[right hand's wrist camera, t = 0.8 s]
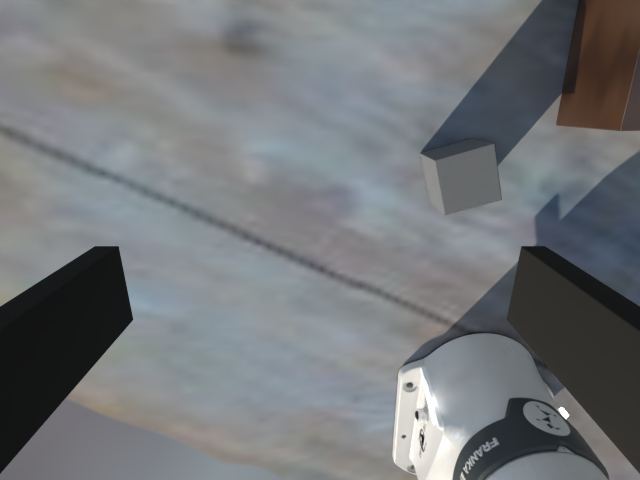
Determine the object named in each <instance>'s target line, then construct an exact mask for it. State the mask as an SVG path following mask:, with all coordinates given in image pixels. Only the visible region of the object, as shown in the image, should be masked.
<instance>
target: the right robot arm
mask: <svg viewBox="0 0 640 480" xmlns="http://www.w3.org/2000/svg"><path fill="white" fill-rule="evenodd" d="M132 320H133V317H132V312H131V307H130V302H129V297H128V292H127V287H126V282H125V277H124V272H123V266H122V261H121V256H120V251H119V246H95V247H93V248H92V249H90V250H89V251H87V252H85V253H84V254H82V255H81V256H79V257H78V258H76V259H74V260H73V261H71V262H70V263H68V264H67V265H65V266H63V267H62V268H60V269H59V270H57V271H56V272H54V273H52V274H51V275H49V276H48V277H46V278H45V279H43V280H41V281H40V282H38V283H37V284H35V285H34V286H32V287H30V288H29V289H27V290H26V291H24V292H23V293H21V294H19V295H18V296H16V297H15V298H13V299H12V300H10V301H8V302H7V303H5V304H4V305H2V306H1V307H0V473H1V472H2V471H3V470H4V469H5V467H6V466H7V465H8V464H9V463H10V462H11V461H12V459H13V458H14V457H15V456H16V455H17V454H18V452H19V451H20V450H21V449H22V448H23V447H24V445H25V444H26V443H27V442H28V441H29V440H30V438H31V437H32V436H33V435H34V434H35V433H36V432H37V430H38V429H39V428H40V427H41V426H42V425H43V423H44V422H45V421H46V420H47V419H48V418H49V417H50V415H51V414H52V413H53V412H54V411H55V410H56V408H57V407H58V406H59V405H60V404H61V403H62V401H63V400H64V399H65V398H66V397H67V396H68V395H69V393H70V392H71V391H72V390H73V389H74V388H75V386H76V385H77V384H78V383H79V382H80V381H81V379H82V378H83V377H84V376H85V375H86V374H87V373H88V371H89V370H90V369H91V368H92V367H93V366H94V364H95V363H96V362H97V361H98V360H99V359H100V357H101V356H102V355H103V354H104V353H105V352H106V350H107V349H108V348H109V347H110V346H111V345H112V344H113V342H114V341H115V340H116V339H117V338H118V337H119V335H120V334H121V333H122V332H123V331H124V330H125V328H126V327H127V326H128V325H129V324H130V323H131V322H132ZM507 320H508V322H509V323H510V324H511V325H512V326H513V327H514V328H515V330H516V331H517V332H518V333H519V334H520V335H521V337H522V338H523V339H524V340H525V341H526V342H527V344H528V345H529V346H530V347H531V348H532V349H533V350H534V352H535V353H536V354H537V355H538V356H539V357H540V359H541V360H542V361H543V362H544V363H545V364H546V366H547V367H548V368H549V369H550V370H551V371H552V373H553V374H554V375H555V376H556V377H557V378H558V379H559V381H560V382H561V383H562V384H563V385H564V386H565V388H566V389H567V390H568V391H569V392H570V393H571V395H572V396H573V397H574V398H575V399H576V400H577V401H578V403H579V404H580V405H581V406H582V407H583V408H584V410H585V411H586V412H587V413H588V414H589V415H590V417H591V418H592V419H593V420H594V421H595V422H596V423H597V425H598V426H599V427H600V428H601V429H602V430H603V432H604V433H605V434H606V435H607V436H608V437H609V439H610V440H611V441H612V442H613V443H614V444H615V445H616V447H617V448H618V449H619V450H620V451H621V452H622V454H623V455H624V456H625V457H626V458H627V459H628V461H629V462H630V463H631V464H632V465H633V466H634V468H635V469H636V470H637V471H638V472H639V473H640V307H639V306H638V305H636V304H635V303H633V302H632V301H630V300H628V299H627V298H625V297H624V296H622V295H621V294H619V293H617V292H616V291H614V290H613V289H611V288H610V287H608V286H606V285H605V284H603V283H602V282H600V281H599V280H597V279H595V278H594V277H592V276H591V275H589V274H588V273H586V272H584V271H583V270H581V269H580V268H578V267H577V266H575V265H573V264H572V263H570V262H569V261H567V260H566V259H564V258H562V257H561V256H559V255H558V254H556V253H555V252H553V251H551V250H550V249H548V248H547V247H545V246H521V251H520V256H519V261H518V266H517V272H516V277H515V282H514V287H513V292H512V297H511V302H510V307H509V312H508V317H507Z"/></svg>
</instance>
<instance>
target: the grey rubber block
mask: <svg viewBox="0 0 640 480" xmlns="http://www.w3.org/2000/svg"><path fill="white" fill-rule="evenodd" d="M420 157H421V162H422V167H423V172H424V177H425V182H426V187H427V192H428V197H429V202H430V203H432V204H433V205H434V206H435V207H436V208H437V209H438V210H439V211H441V212H442V213H443V214H444V215H449V214H452V213H456V212H460V211H463V210H467V209H471V208H474V207H478V206H481V205H485V204H489V203H492V202H496V201H500V200H502V197H501V189H500V181H499V174H498V166H497V158H496V151H495V144H494V143H491V142H487V141H482V140H478V139H473V138H470V139H466V140H463V141H460V142H456V143H453V144H449V145H446V146H442V147H439V148H436V149H432V150H429V151H425V152H422V153H420Z"/></svg>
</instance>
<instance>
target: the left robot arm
mask: <svg viewBox="0 0 640 480" xmlns="http://www.w3.org/2000/svg"><path fill="white" fill-rule="evenodd" d="M409 382H411V383H410V384H407V383H409ZM568 416H569V414H568V413H567V412H566V411H565V409H564V408H562V407H561V408H560V409H559V407H558V406H557V404H556V402H555V401H554V395H553V393H552V391H551V390H550V388H549V387H548V385H547V384H546V383H545V382H544V381H543V380H542V378H541V376H540V374H539V372H538V370H537V367H536V365H535V362H534V360H533V358H532V356H531V355H530V353H529V352H528V351H527V349H526V348H525V347H523V346H522V345H521V344H520V343H518V342H517V341H515V340H513V339H511V338H508V337H505V336H502V335H498V334H490V333H479V334H471V335H466V336H462V337H459V338H456V339H454V340H451V341H449V342H447V343H445V344H444V345H442V346H441V347H439V348H438V349H436V350H435V351H434V352H432V353H431V354H430V355H428V356H427V357H425V358H424V359H421V360H418V361H415V362H412V363H409V364H407V365H405V366H403V367H402V368H401V369H400V370H399V374H398V387H397V400H396V413H395V426H394V439H393V452H392V454H393V459H394V462H395V464H397V465H398V466H399V467H401V468H402V469H404V470H406V471H408V472H410V473H412V474H415V475H417V478H418V480H609V476H608V473H607V471H606V469H605V467H604V466H603V464H602V463H601V462H600V460H599V459H598V457H597V456H596V454H595V453H594V452H593V451H592V449H591V448H590V447H589V445H588V444H587V443H586V441H585V440H584V439H583V437H582V436H581V435H580V434H579V432H578V431H577V430H576V429H575V428H574V427H573V426H572V425H571V424H570V423H569V422H568V421H567V420H566V419H567V417H568Z"/></svg>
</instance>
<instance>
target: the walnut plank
mask: <svg viewBox="0 0 640 480" xmlns="http://www.w3.org/2000/svg"><path fill="white" fill-rule="evenodd" d="M556 125H558V126H569V127H581V128H592V129H603V130H615V131H640V0H579V4H578V9H577V15H576V20H575V25H574V31H573V36H572V42H571V47H570V53H569V58H568V64H567V69H566V74H565V80H564V85H563V91H562V96H561V102H560V107H559V113H558V118H557V124H556Z"/></svg>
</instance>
